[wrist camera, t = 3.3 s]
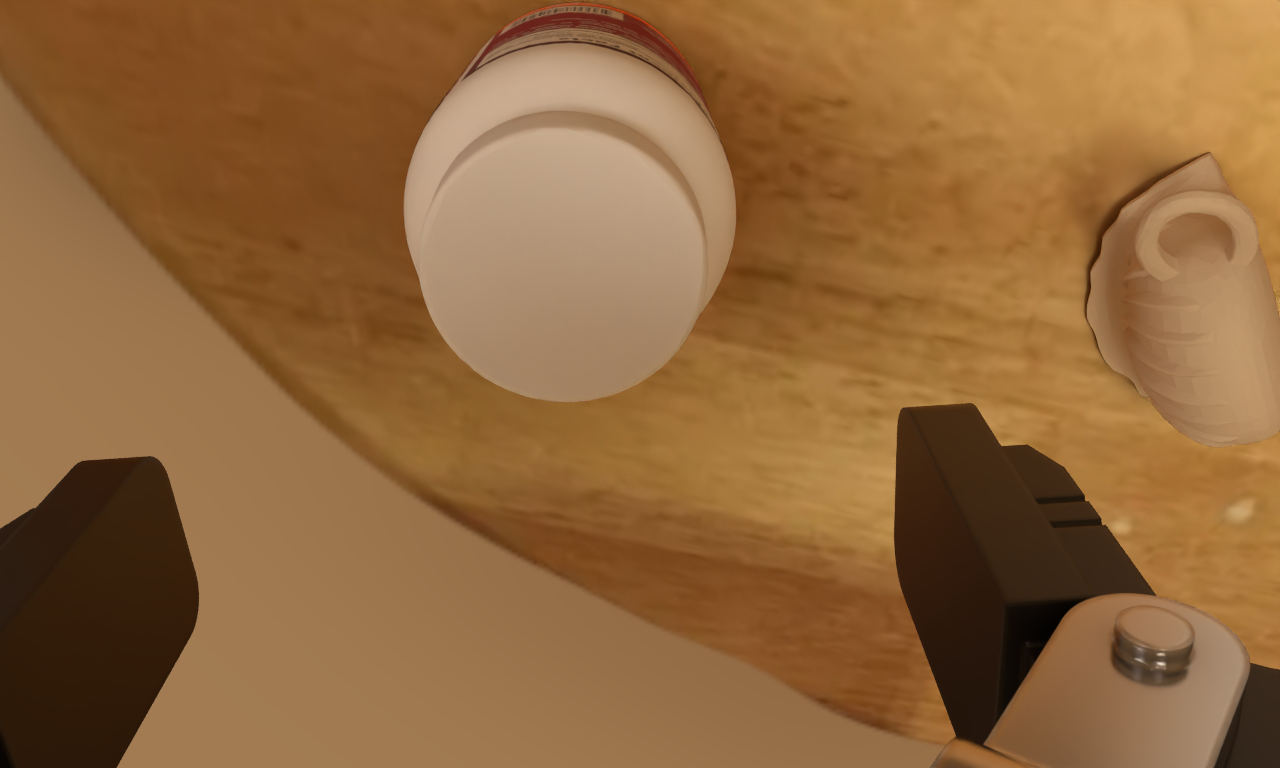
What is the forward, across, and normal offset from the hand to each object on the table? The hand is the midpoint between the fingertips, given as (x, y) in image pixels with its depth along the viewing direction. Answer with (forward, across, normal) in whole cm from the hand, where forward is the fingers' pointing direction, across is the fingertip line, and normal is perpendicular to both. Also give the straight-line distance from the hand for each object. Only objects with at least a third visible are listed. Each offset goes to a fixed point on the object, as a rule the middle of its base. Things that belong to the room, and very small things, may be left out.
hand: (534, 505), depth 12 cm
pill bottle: (+18, 0, 0) cm, 18 cm away
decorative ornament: (+18, -15, +4) cm, 24 cm away
